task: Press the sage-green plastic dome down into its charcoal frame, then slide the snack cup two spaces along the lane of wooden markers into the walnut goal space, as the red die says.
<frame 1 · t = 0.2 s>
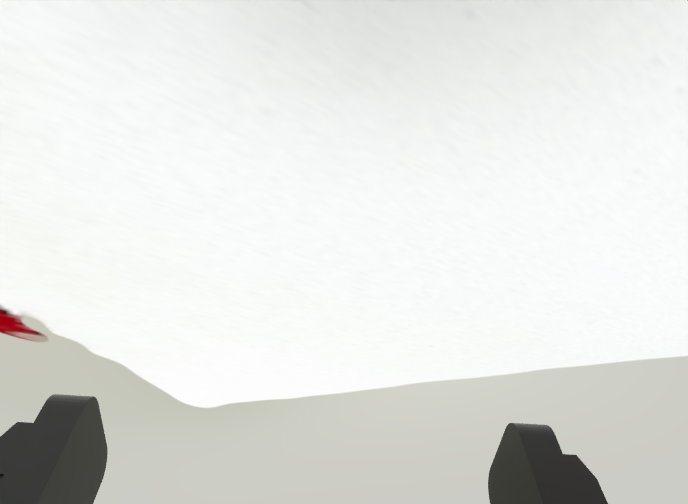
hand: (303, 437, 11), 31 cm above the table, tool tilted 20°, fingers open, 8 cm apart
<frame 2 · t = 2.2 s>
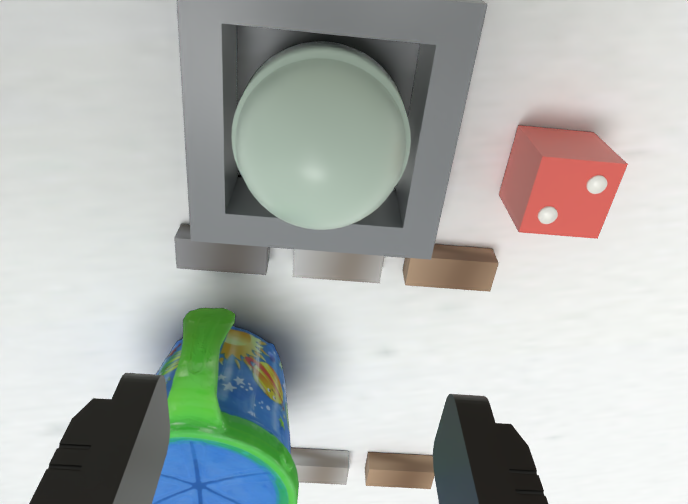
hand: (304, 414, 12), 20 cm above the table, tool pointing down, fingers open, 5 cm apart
snack cup: (228, 359, 38), on the table
track markers: (324, 368, 38), on the table
red die: (544, 164, 30), on the table
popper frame: (323, 107, 28), on the table
dome: (321, 145, 24), point 5 cm above the table, slide at 0.0 cm
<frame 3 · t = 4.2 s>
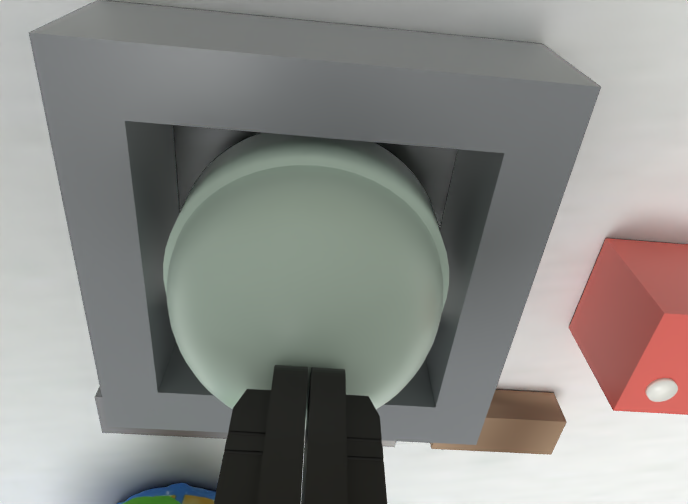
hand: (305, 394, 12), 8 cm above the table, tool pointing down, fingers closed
red die: (639, 289, 20), on the table
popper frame: (312, 215, 18), on the table
dome: (307, 288, 15), point 4 cm above the table, slide at 1.0 cm, touching gripper
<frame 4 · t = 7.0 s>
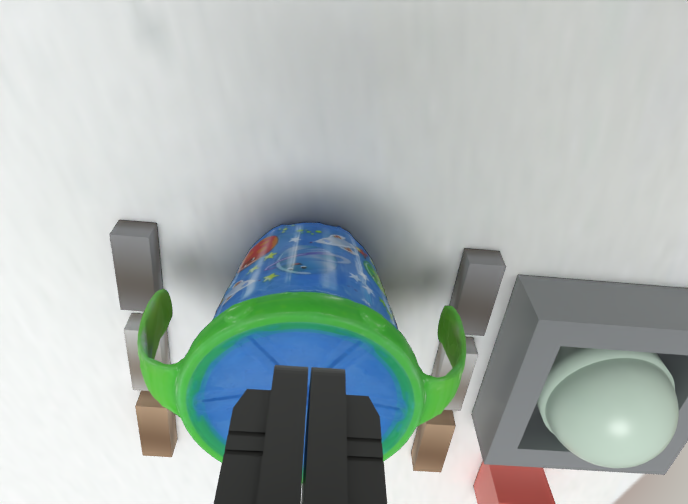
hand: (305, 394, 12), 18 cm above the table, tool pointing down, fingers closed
snack cup: (310, 270, 32), on the table
track markers: (303, 355, 36), on the table
red die: (505, 471, 42), on the table
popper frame: (583, 357, 36), on the table
dome: (607, 402, 33), point 4 cm above the table, slide at 1.2 cm
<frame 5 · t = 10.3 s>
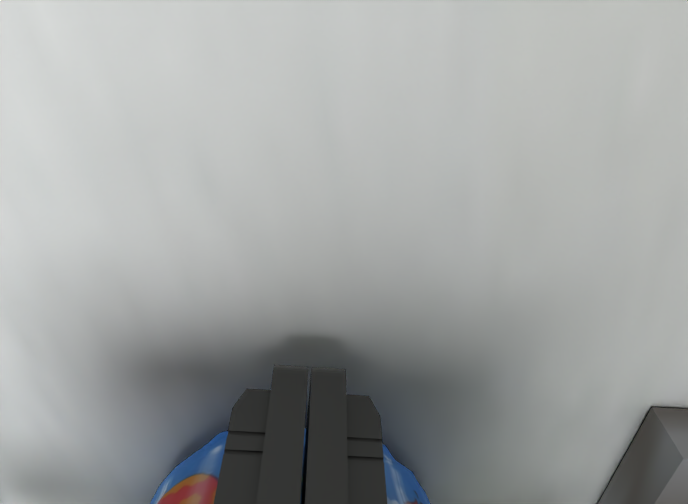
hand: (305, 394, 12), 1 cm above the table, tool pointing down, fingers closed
snack cup: (296, 493, 16), on the table, touching gripper, hand
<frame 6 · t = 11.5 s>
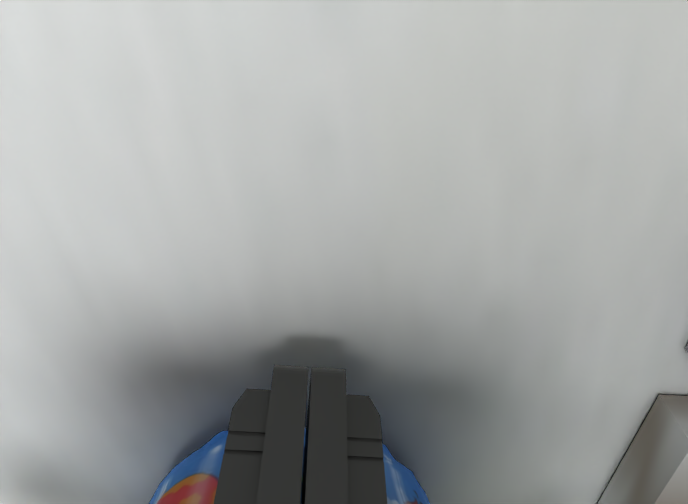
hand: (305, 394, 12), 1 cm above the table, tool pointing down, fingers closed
snack cup: (296, 493, 16), on the table, touching gripper, hand
track markers: (306, 444, 14), on the table
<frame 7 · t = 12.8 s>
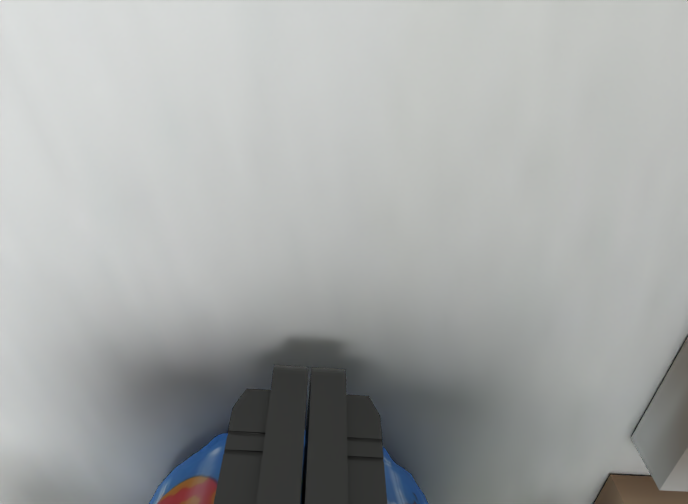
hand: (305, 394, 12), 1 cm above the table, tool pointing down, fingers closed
snack cup: (295, 495, 16), on the table, touching gripper, hand
track markers: (307, 344, 12), on the table
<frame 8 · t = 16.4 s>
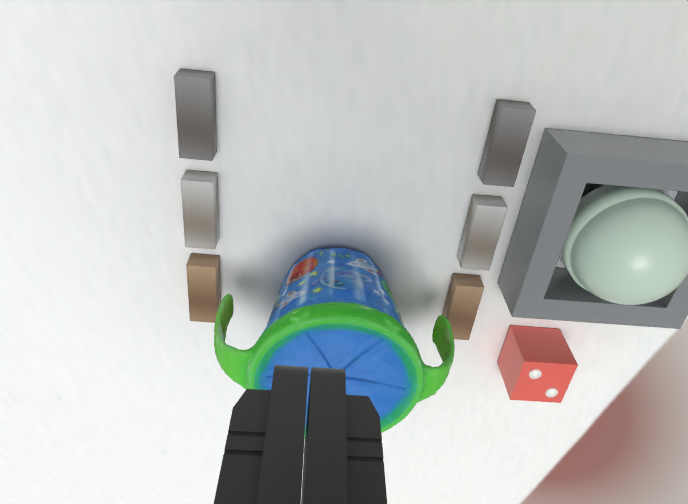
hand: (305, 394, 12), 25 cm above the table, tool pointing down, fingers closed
snack cup: (335, 283, 42), on the table
track markers: (343, 216, 38), on the table
red die: (527, 345, 45), on the table
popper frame: (604, 218, 39), on the table
dome: (627, 248, 35), point 4 cm above the table, slide at 1.2 cm
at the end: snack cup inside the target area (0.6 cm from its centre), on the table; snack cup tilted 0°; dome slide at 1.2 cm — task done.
